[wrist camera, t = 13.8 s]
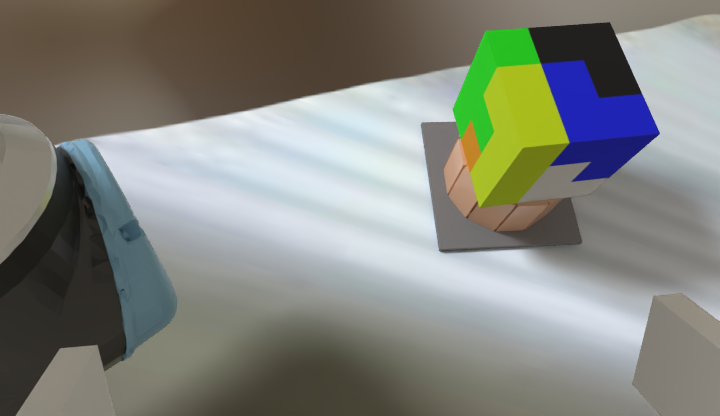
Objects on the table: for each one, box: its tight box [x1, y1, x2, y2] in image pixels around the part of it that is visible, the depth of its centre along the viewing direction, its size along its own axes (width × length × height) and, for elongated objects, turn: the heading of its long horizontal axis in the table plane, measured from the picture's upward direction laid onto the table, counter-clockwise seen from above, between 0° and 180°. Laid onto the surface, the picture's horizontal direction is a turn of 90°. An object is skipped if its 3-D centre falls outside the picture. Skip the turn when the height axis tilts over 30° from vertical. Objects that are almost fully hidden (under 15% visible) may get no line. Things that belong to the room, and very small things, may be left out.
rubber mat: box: [421, 122, 582, 251], centre depth 51 cm, size 14×14×1 cm
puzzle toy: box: [453, 23, 660, 208], centre depth 40 cm, size 10×10×10 cm
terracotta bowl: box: [444, 135, 563, 232], centre depth 48 cm, size 11×11×6 cm
